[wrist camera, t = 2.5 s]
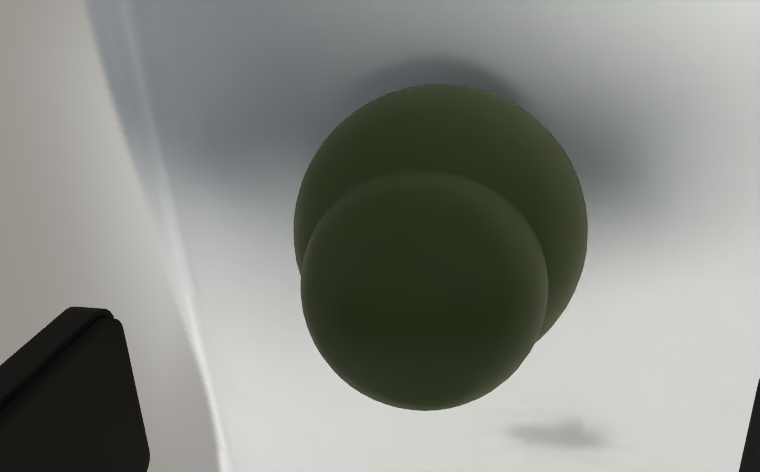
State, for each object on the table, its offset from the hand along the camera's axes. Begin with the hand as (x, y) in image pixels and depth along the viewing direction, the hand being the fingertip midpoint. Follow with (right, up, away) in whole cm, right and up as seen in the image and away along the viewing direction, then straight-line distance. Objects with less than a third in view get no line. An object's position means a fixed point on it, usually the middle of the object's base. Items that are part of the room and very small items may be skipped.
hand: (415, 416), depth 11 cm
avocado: (+1, +4, +7) cm, 9 cm away
